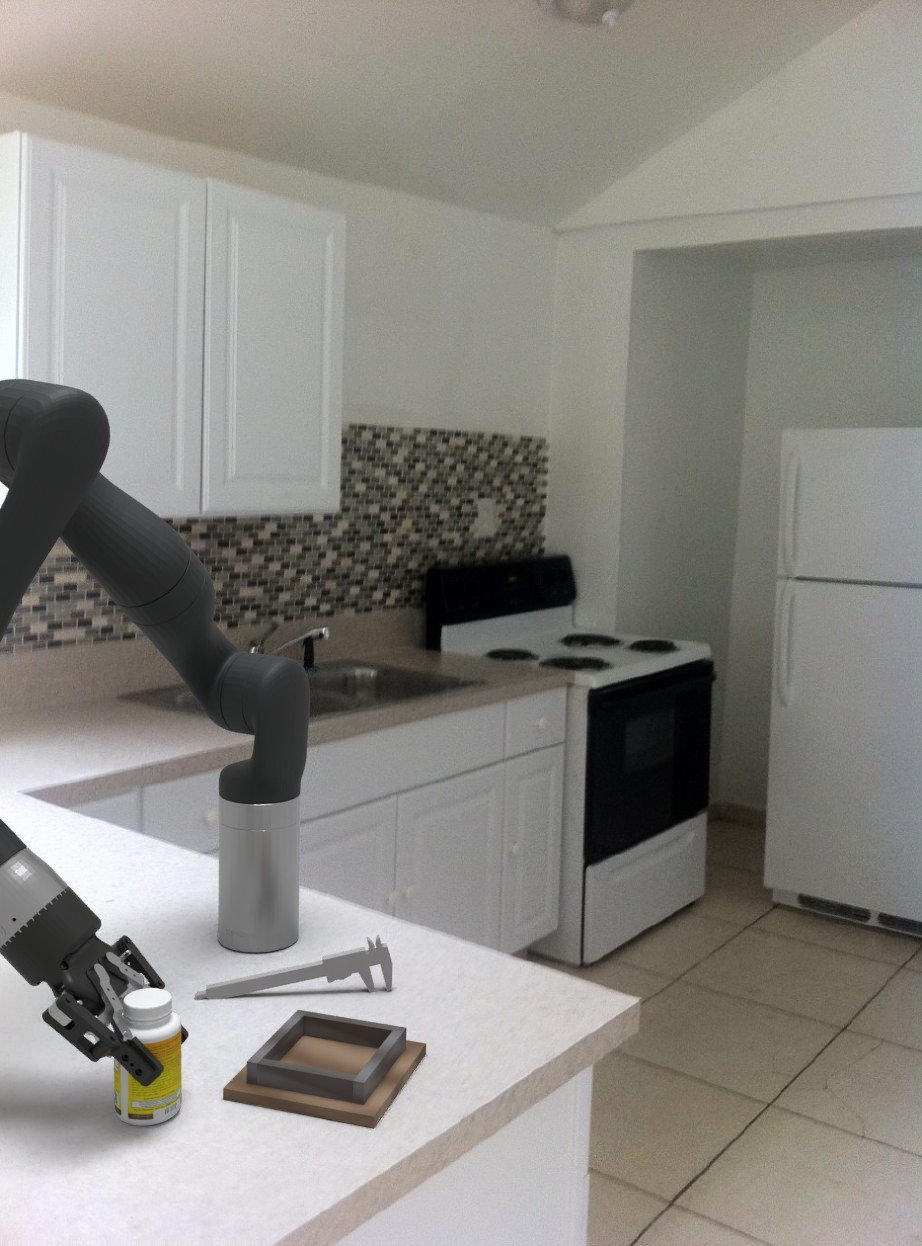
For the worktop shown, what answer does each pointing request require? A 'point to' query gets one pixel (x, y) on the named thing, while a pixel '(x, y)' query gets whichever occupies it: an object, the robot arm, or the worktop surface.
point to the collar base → (329, 1068)
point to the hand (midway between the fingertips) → (168, 1060)
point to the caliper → (311, 972)
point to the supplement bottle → (162, 1038)
